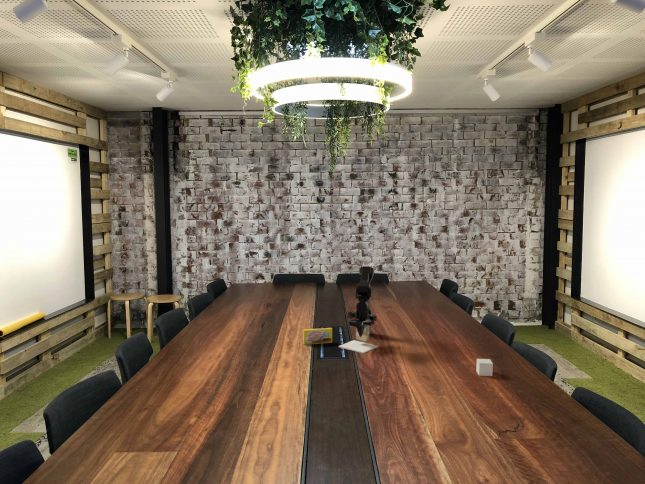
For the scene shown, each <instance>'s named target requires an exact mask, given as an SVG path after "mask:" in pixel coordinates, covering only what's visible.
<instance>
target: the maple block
mask: <svg viewBox="0 0 645 484" xmlns="http://www.w3.org/2000/svg"><path fill="white" fill-rule="evenodd" d="M363 325H365V324H363ZM355 340H356V341H360V342H367V341H370V335H369V325H365V326H364V330H363V333H362V337H360V336H359V334H358V331H357V328H356V327H355Z"/></svg>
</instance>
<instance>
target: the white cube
mask: <svg viewBox="0 0 645 484" xmlns="http://www.w3.org/2000/svg"><path fill="white" fill-rule="evenodd" d="M475 367H476V369H475V371H476V373H477V374H478V376H479V377H481V376H482V377H483V376H485V377H492V376H493V372H494V369H493V368H494V363H493V362H492V360H491V359H490V358H476V366H475Z"/></svg>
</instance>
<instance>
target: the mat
mask: <svg viewBox="0 0 645 484" xmlns="http://www.w3.org/2000/svg"><path fill="white" fill-rule="evenodd" d="M378 347H379V345H376V344H372V343H367V342H365V341H361V340H356V339H354V340H351V341H347V342H346V343H343V344H340V345H338V348H340V349H344V350H349V351H352V352H356V353H359V354H365V353H367V352H370V351H372V350H374V349H376V348H378Z"/></svg>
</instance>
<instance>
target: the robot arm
mask: <svg viewBox="0 0 645 484" xmlns="http://www.w3.org/2000/svg"><path fill="white" fill-rule="evenodd" d="M358 270H359V272H358V274H359V276H360V281H359V282H358V283H357V286H356V289H355V290H356V291H355V299H356V300H357V303H356V306H355V307H356V309H355V311H354V312H353V311H348V312H347V314H346V315H347V318H348V319H349V321H348V325H349V326H351V327H355V329H356V328H357V331H358V334H359V336H360V337H362V333H363V330H364V326H365V325H369V336H371V335H372V334H374V332H372V330H371V329H372V326H373V325H375V322H376V321H378V320H377V315H375V314H373V311H372V309H371V307H370V299H371V298H372V293H373V292H372V291H373V290H372V288H371V281H372V280H373V278H374V277H373V276H374V275H375V268H374V267H372V266H369V265H368V266H367V265H366V266H364V265H362V266H360V267H359V269H358ZM363 324H365V325H363ZM349 326H348V327H349Z"/></svg>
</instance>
